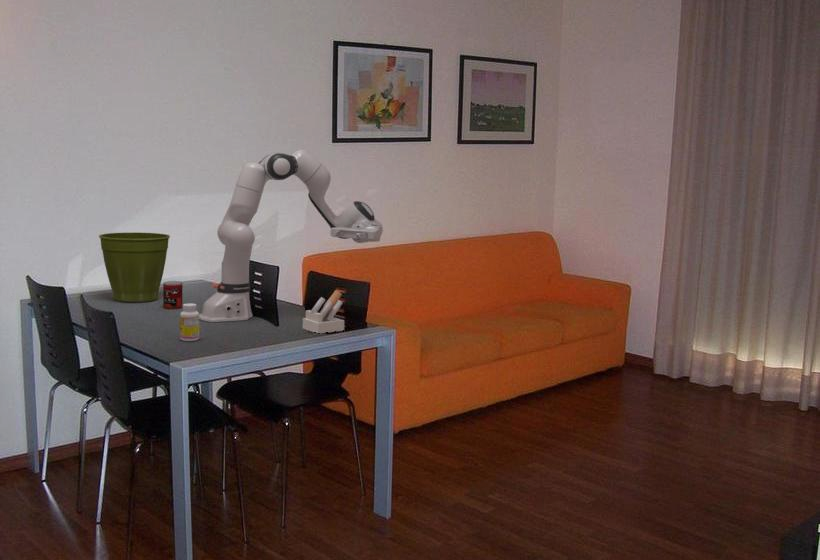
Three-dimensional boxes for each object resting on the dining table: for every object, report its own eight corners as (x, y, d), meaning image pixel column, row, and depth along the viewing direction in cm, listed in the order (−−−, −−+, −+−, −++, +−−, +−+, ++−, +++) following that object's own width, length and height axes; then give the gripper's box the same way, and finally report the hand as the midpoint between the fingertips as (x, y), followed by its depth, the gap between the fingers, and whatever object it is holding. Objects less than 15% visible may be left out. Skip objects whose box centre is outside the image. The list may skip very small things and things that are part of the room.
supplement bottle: (181, 337, 309) (181, 302, 307) (200, 337, 310) (200, 303, 308) (178, 341, 303) (178, 305, 301) (197, 341, 303) (197, 306, 301)
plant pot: (181, 302, 378) (180, 237, 373) (114, 307, 359) (113, 240, 355) (154, 291, 400) (153, 231, 396) (90, 296, 382) (89, 232, 377)
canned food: (159, 308, 362) (159, 282, 360) (171, 305, 369) (171, 280, 367) (174, 310, 359) (174, 284, 357) (186, 307, 366) (186, 282, 364)
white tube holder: (318, 333, 324) (318, 300, 322) (302, 328, 332) (303, 296, 330) (347, 330, 333) (348, 297, 331) (331, 324, 341) (332, 293, 339)
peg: (320, 314, 329) (338, 290, 333) (316, 314, 331) (333, 290, 336) (326, 319, 330) (343, 295, 335) (322, 319, 333) (338, 295, 337)
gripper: (338, 223, 356) (324, 225, 344) (384, 226, 349) (370, 228, 337) (338, 238, 357) (323, 240, 344) (383, 241, 350) (370, 244, 337)
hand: (347, 234), depth 340 cm, fingers open, 8 cm apart
